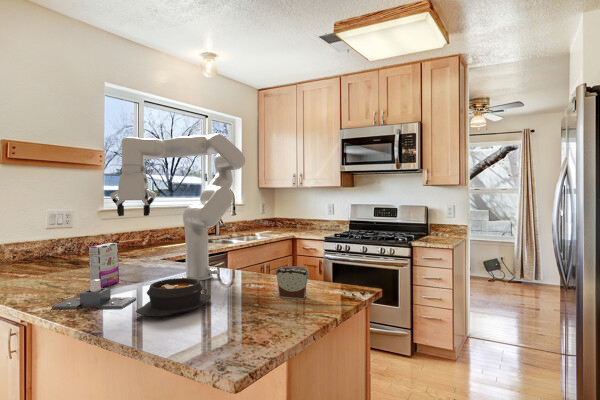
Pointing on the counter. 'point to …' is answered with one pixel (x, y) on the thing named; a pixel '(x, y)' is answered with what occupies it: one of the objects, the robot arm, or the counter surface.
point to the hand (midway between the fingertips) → (133, 215)
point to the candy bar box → (104, 263)
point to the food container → (292, 281)
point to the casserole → (173, 297)
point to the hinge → (95, 300)
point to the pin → (95, 285)
